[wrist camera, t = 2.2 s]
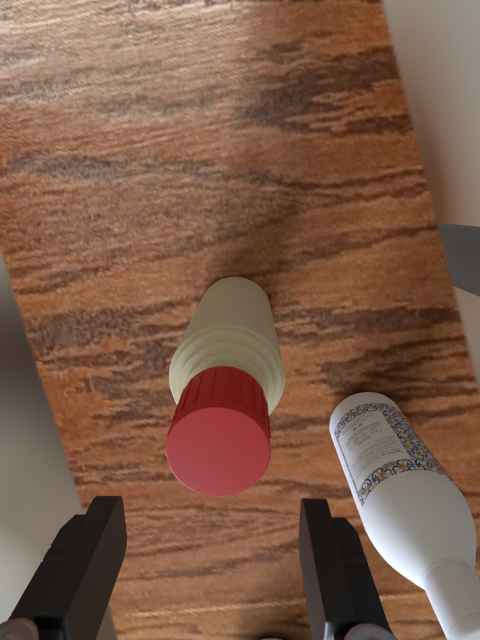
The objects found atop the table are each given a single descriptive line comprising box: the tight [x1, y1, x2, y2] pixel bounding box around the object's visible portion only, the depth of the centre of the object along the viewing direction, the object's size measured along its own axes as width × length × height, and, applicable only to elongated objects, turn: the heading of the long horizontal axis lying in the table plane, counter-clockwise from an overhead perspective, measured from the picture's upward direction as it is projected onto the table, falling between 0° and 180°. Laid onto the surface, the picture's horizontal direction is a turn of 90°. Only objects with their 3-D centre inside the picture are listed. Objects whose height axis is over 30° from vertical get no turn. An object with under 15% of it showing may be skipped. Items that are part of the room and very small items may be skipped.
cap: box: [166, 366, 271, 496], centre depth 17 cm, size 4×4×4 cm
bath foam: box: [330, 392, 480, 640], centre depth 28 cm, size 7×7×20 cm
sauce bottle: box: [169, 277, 285, 415], centre depth 25 cm, size 6×6×20 cm
